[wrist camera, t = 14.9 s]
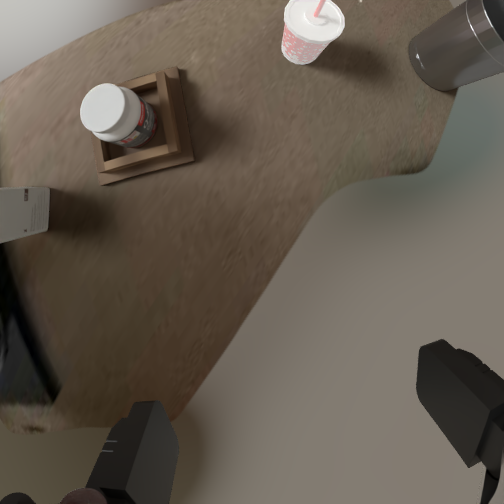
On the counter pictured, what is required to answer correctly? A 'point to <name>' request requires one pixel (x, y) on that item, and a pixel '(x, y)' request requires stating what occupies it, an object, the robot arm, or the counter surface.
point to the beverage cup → (310, 28)
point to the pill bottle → (118, 116)
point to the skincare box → (23, 212)
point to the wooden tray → (163, 141)
